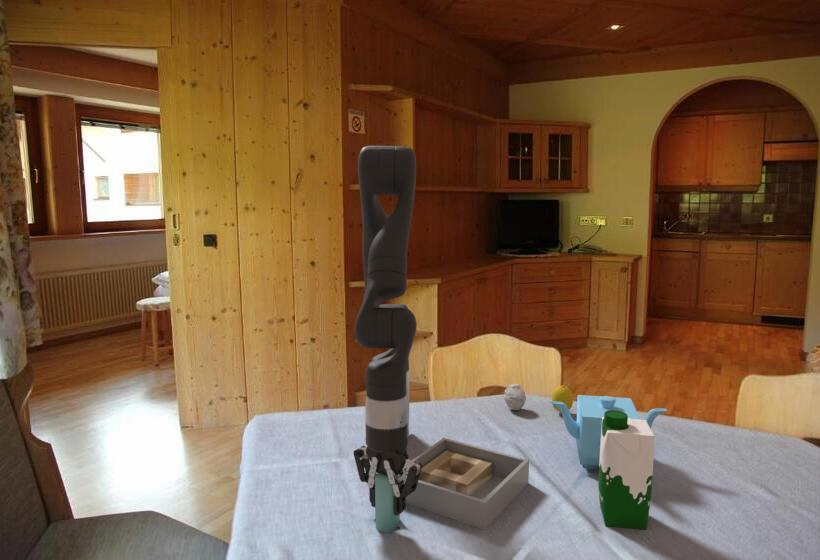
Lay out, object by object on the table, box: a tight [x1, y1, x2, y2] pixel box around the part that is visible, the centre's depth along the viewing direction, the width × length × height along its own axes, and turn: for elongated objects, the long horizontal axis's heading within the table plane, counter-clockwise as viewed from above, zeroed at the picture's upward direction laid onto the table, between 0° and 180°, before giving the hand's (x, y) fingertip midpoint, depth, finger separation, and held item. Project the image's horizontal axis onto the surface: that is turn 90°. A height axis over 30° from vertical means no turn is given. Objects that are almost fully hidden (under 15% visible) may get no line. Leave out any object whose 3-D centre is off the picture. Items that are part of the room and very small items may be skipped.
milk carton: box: [597, 410, 655, 530], centre depth 109 cm, size 9×9×20 cm
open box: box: [399, 437, 530, 531], centre depth 119 cm, size 20×20×6 cm
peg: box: [374, 473, 401, 534], centre depth 108 cm, size 4×4×10 cm
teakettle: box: [549, 394, 669, 470], centre depth 132 cm, size 19×19×15 cm
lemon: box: [551, 384, 574, 415], centre depth 161 cm, size 6×6×8 cm
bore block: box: [419, 451, 492, 496], centre depth 123 cm, size 11×11×3 cm
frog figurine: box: [503, 383, 527, 411], centre depth 164 cm, size 6×7×7 cm
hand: (387, 508), depth 108 cm, fingers closed on peg, 4 cm apart
